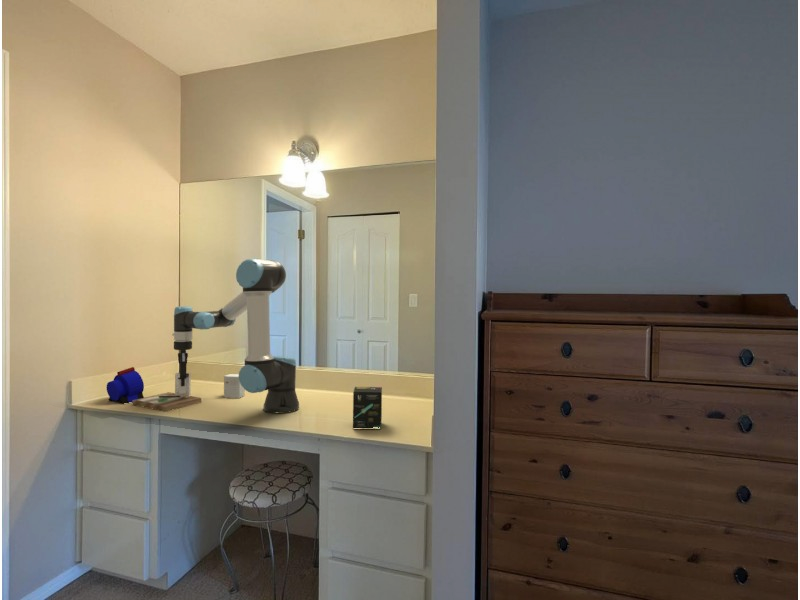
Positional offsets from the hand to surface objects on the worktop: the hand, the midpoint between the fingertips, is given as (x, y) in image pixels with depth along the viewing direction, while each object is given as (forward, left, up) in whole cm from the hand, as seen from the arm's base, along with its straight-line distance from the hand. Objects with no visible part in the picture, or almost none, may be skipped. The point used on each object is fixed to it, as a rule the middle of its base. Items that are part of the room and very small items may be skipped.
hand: (182, 392), depth 205 cm
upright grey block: (+3, +2, -2) cm, 4 cm away
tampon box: (-90, -11, -5) cm, 91 cm away
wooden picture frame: (+5, +4, -5) cm, 8 cm away
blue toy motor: (+26, +10, -5) cm, 28 cm away
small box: (-11, -20, -5) cm, 24 cm away
